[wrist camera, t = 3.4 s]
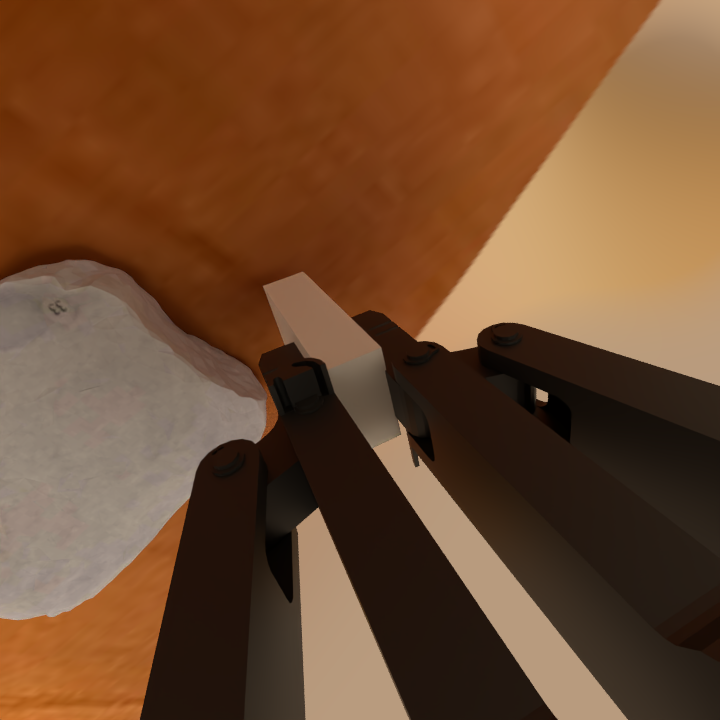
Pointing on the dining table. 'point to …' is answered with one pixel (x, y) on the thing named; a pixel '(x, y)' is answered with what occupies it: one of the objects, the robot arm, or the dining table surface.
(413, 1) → the dining table surface
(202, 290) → the dining table surface
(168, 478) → the stone block
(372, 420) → the robot arm
